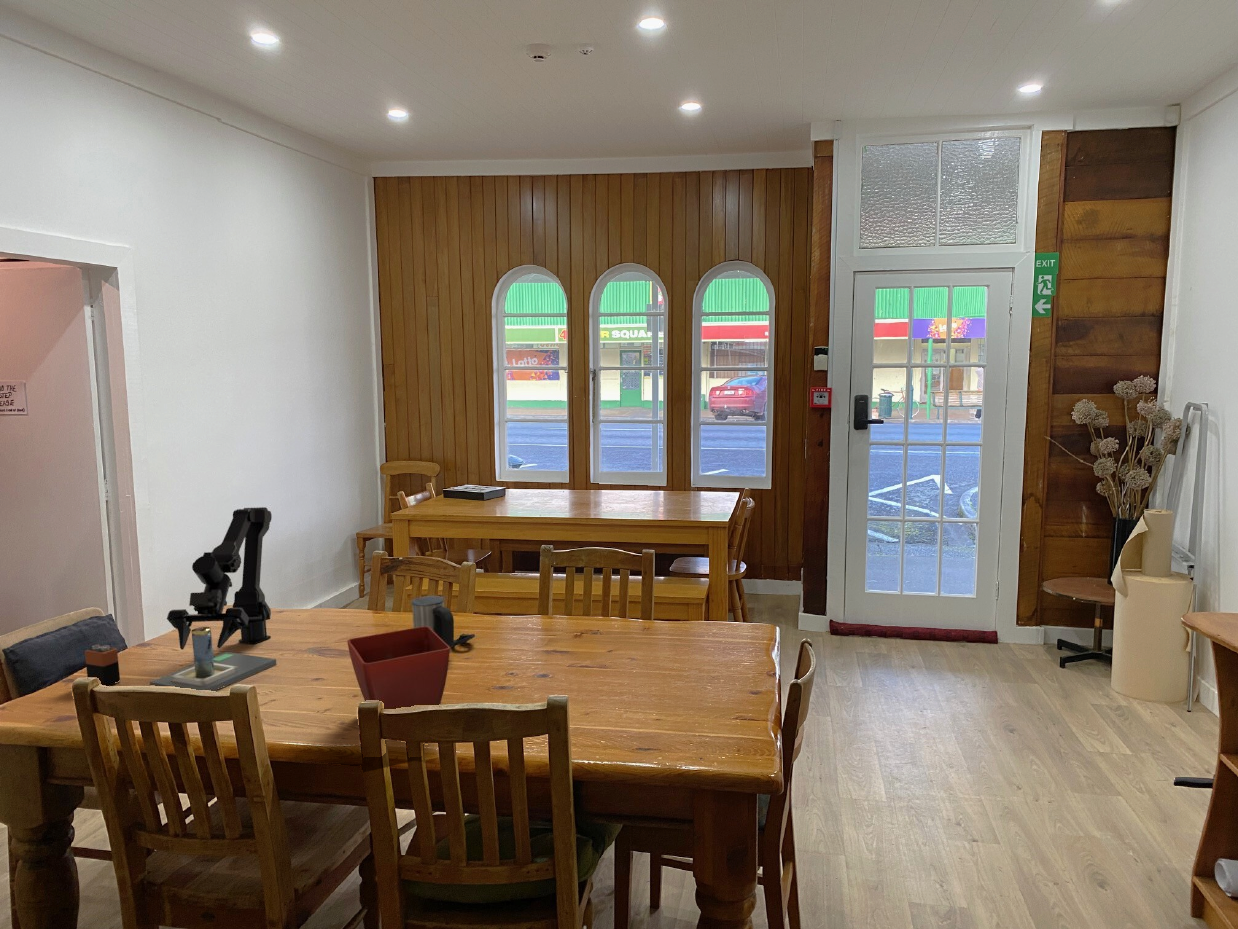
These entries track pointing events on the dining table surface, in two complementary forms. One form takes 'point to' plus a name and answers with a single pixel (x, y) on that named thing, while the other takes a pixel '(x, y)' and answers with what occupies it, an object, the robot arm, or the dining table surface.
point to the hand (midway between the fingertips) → (200, 648)
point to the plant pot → (401, 667)
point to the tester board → (218, 672)
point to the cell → (203, 652)
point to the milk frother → (436, 619)
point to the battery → (103, 664)
